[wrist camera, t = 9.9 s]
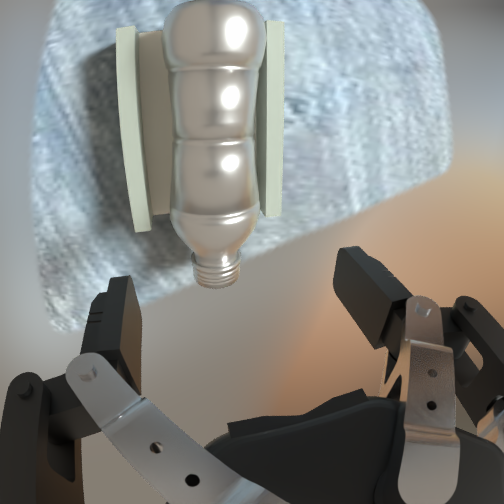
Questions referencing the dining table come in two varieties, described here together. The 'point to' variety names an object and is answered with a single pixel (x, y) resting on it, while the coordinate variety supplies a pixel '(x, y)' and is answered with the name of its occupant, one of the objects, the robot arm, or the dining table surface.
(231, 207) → the silver metal bottle
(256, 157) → the cradle
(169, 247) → the dining table surface
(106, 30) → the dining table surface
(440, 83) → the dining table surface
